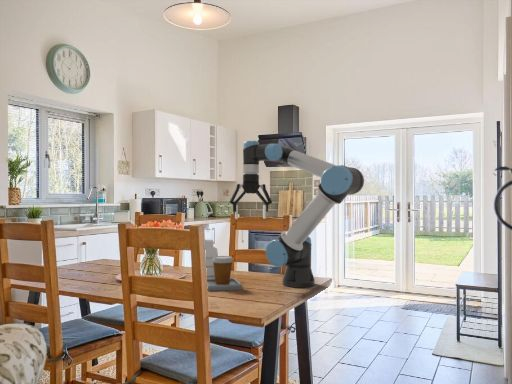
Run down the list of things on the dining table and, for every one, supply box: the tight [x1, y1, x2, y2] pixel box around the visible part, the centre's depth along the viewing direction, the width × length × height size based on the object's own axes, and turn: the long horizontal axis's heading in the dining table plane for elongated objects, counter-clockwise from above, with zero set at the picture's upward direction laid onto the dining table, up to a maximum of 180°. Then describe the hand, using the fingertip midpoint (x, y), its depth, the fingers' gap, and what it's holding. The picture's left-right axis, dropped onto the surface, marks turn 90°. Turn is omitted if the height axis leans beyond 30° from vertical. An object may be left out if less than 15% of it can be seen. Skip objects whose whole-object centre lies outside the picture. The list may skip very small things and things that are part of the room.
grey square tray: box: [207, 277, 243, 292], centre depth 200 cm, size 15×15×2 cm
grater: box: [204, 238, 219, 279], centre depth 217 cm, size 10×10×20 cm
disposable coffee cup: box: [212, 255, 234, 285], centre depth 200 cm, size 10×10×12 cm
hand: (250, 218), depth 208 cm, fingers open, 13 cm apart
